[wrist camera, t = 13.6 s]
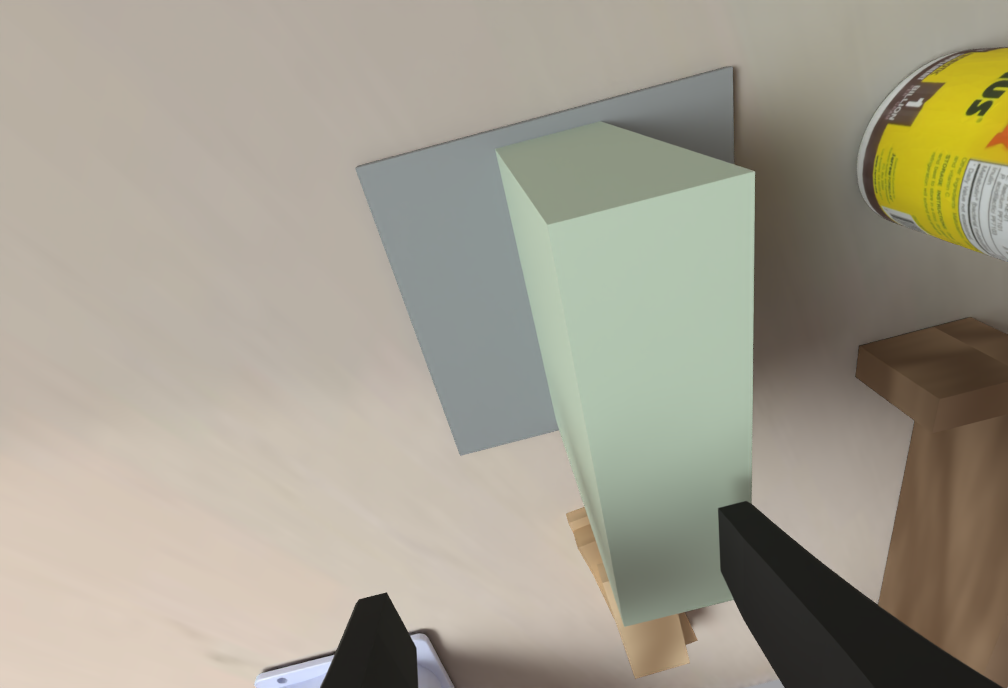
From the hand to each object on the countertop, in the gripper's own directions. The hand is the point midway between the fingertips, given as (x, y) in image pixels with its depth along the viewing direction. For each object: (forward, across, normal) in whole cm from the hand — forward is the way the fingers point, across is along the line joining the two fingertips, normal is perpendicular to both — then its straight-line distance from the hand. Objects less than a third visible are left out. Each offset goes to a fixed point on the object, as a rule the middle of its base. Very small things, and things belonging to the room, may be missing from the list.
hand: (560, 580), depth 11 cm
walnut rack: (+10, -17, +15) cm, 25 cm away
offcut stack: (+11, -4, +15) cm, 19 cm away
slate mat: (+10, -3, -2) cm, 11 cm away
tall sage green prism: (+10, -3, -2) cm, 10 cm away
